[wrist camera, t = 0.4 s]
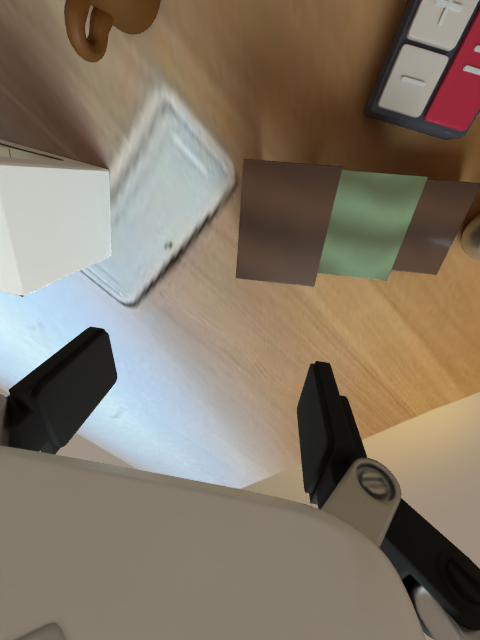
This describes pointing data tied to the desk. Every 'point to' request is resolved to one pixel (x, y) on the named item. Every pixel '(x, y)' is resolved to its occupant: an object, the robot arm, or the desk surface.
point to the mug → (105, 22)
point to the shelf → (344, 222)
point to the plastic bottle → (472, 239)
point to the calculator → (431, 70)
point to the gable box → (49, 217)
